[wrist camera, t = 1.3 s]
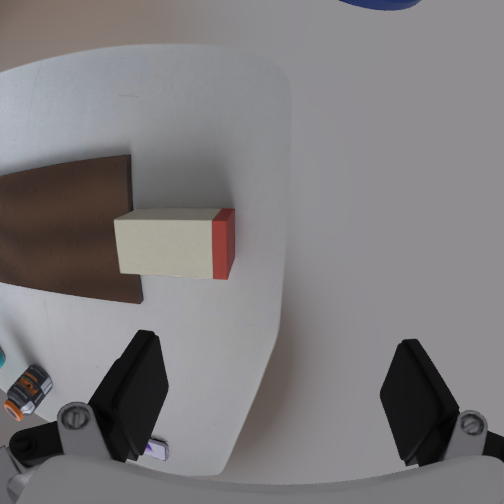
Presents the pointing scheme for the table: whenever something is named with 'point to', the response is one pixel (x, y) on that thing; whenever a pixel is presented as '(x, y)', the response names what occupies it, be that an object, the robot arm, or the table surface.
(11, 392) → the pill bottle
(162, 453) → the smartphone
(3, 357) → the beverage can
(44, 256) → the board
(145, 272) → the container
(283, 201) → the table surface
